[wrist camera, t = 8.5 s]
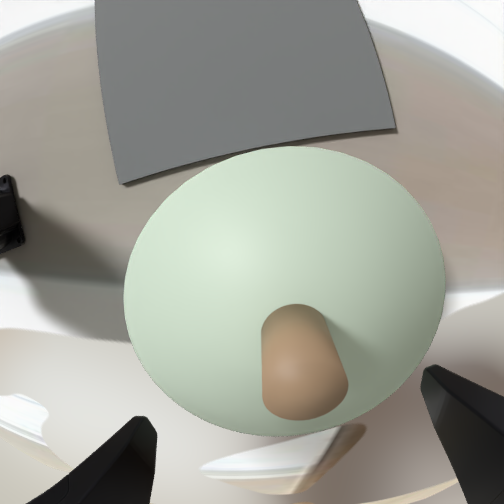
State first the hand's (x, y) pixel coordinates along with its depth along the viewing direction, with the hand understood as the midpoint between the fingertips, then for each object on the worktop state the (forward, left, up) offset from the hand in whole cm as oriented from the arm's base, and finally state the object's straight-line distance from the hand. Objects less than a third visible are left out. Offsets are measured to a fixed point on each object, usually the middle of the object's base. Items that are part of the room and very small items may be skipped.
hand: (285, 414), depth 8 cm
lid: (+1, -1, -6) cm, 6 cm away
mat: (+1, +17, -13) cm, 22 cm away
